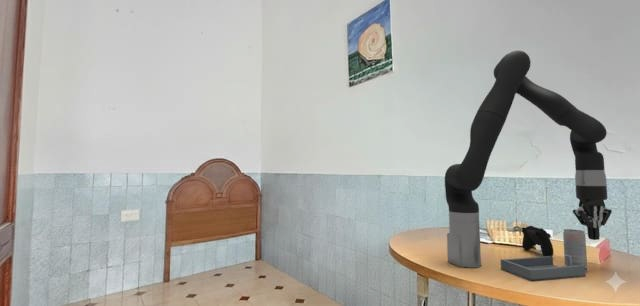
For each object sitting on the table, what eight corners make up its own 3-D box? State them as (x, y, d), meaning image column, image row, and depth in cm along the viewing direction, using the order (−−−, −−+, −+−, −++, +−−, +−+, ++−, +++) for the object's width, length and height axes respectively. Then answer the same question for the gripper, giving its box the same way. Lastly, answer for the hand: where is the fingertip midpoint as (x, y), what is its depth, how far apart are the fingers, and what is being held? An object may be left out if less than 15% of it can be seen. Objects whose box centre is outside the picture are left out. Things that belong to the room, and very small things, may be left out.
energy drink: (584, 268, 97) (581, 229, 97) (590, 273, 92) (587, 232, 93) (562, 266, 99) (560, 228, 100) (568, 271, 94) (565, 231, 95)
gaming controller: (560, 259, 107) (559, 230, 107) (543, 259, 107) (541, 230, 108) (533, 249, 121) (532, 223, 122) (517, 249, 121) (516, 223, 122)
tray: (531, 281, 86) (531, 270, 86) (501, 269, 96) (500, 259, 96) (585, 276, 89) (584, 265, 89) (550, 265, 100) (549, 256, 100)
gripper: (586, 185, 94) (589, 243, 92) (620, 184, 96) (624, 240, 95) (562, 184, 101) (565, 237, 100) (594, 183, 104) (597, 236, 102)
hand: (594, 239), depth 97 cm, fingers closed
